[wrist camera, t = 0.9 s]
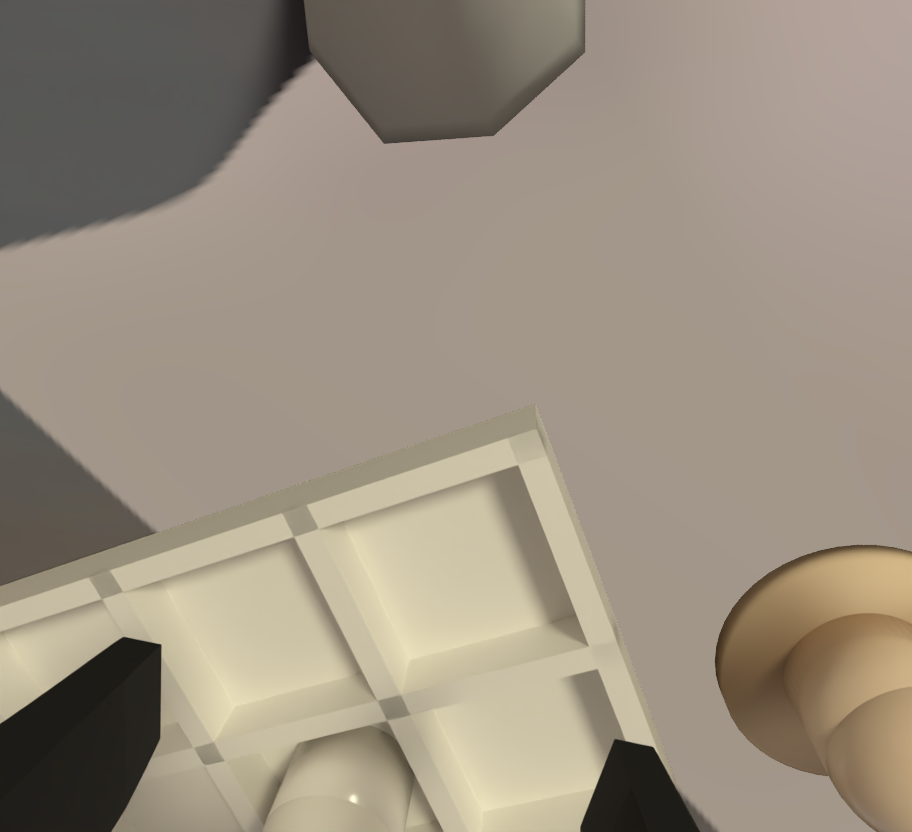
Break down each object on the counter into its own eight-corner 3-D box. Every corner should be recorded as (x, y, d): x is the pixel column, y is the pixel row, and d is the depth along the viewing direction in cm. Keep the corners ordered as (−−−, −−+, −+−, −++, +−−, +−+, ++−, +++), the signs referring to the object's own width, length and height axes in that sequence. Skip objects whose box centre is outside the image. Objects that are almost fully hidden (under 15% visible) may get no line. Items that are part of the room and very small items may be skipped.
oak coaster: (1005, 727, 20) (1024, 747, 20) (749, 778, 22) (757, 799, 21) (964, 512, 18) (982, 525, 18) (685, 586, 20) (692, 601, 19)
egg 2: (950, 715, 20) (1092, 885, 15) (801, 745, 20) (888, 916, 16) (924, 596, 18) (1069, 738, 14) (767, 634, 19) (850, 780, 14)
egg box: (673, 775, 22) (689, 834, 20) (167, 879, 27) (137, 936, 25) (535, 404, 19) (536, 428, 17) (-25, 594, 23) (-79, 633, 21)
